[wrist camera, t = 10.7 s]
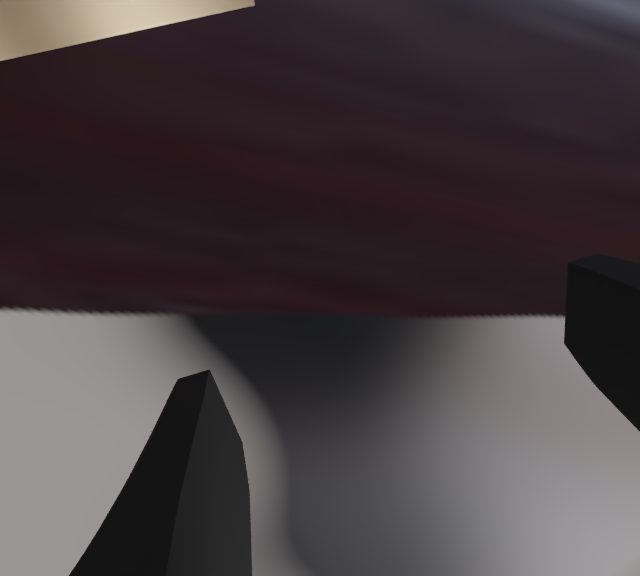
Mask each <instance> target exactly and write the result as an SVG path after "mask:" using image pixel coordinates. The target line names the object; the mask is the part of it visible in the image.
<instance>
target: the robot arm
mask: <svg viewBox="0 0 640 576" xmlns="http://www.w3.org/2000/svg"><path fill="white" fill-rule="evenodd" d="M564 344H565V345H566V346H567V348H568V349H569V350H570V352H571V354H572V355H573V356H574V358H575V359H576V361H577V362H578V363H579V365H580V366H581V367H582V369H583V370H584V371H585V373H586V374H587V375H588V377H589V378H590V379H591V380H592V382H593V383H594V384H595V385H596V387H597V388H598V389H599V390H600V391H601V392H602V393H603V394H604V395H605V396H606V397H607V398H608V399H609V400H610V401H611V402H612V403H613V404H614V405H615V406H616V407H617V409H618V410H619V411H620V412H621V413H622V414H623V415H624V416H625V417H626V418H627V419H628V420H629V421H630V422H631V423H632V424H633V425H634V426H635V427H636V428H637V429H638V430H639V431H640V264H637V263H634V262H630V261H626V260H623V259H619V258H615V257H611V256H606V255H601V254H595V255H592V256H588V257H585V258H582V259H578V260H575V261H571V262H568V277H567V297H566V317H565V338H564ZM69 576H252V560H251V523H250V494H249V485H248V478H247V470H246V464H245V457H244V451H243V444H242V441H241V438H240V436H239V434H238V432H237V429H236V427H235V425H234V423H233V421H232V418H231V416H230V414H229V412H228V409H227V407H226V405H225V403H224V400H223V398H222V396H221V394H220V392H219V390H218V387H217V385H216V383H215V380H214V378H213V376H212V374H211V372H210V370H207V371H203V372H200V373H197V374H193V375H190V376H187V377H183V378H180V379H178V380H177V382H176V384H175V386H174V388H173V390H172V392H171V394H170V396H169V398H168V400H167V402H166V404H165V406H164V408H163V411H162V413H161V415H160V417H159V419H158V421H157V423H156V425H155V427H154V429H153V431H152V433H151V435H150V437H149V439H148V441H147V443H146V445H145V447H144V449H143V451H142V453H141V455H140V457H139V459H138V461H137V462H136V464H135V466H134V468H133V470H132V472H131V474H130V476H129V478H128V480H127V481H126V483H125V485H124V487H123V489H122V490H121V492H120V494H119V495H118V497H117V499H116V501H115V502H114V504H113V506H112V508H111V509H110V511H109V513H108V514H107V516H106V518H105V520H104V521H103V523H102V525H101V527H100V528H99V530H98V532H97V533H96V535H95V537H94V538H93V540H92V541H91V543H90V544H89V546H88V547H87V549H86V551H85V552H84V554H83V555H82V557H81V558H80V560H79V562H78V563H77V564H76V566H75V568H74V569H73V570H72V572H71V573H70V575H69Z"/></svg>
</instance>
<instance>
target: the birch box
mask: <svg viewBox="0 0 640 576" xmlns="http://www.w3.org/2000/svg"><path fill="white" fill-rule="evenodd" d="M254 5H255V4H254V0H0V61H2V60H7V59H11V58H16V57H21V56H25V55H30V54H34V53H39V52H43V51H48V50H53V49H57V48H62V47H66V46H71V45H75V44H80V43H85V42H89V41H94V40H98V39H103V38H108V37H112V36H117V35H121V34H126V33H130V32H135V31H140V30H144V29H149V28H153V27H158V26H162V25H167V24H172V23H176V22H181V21H185V20H190V19H194V18H199V17H204V16H208V15H213V14H217V13H222V12H226V11H231V10H236V9H240V8H245V7H249V6H254Z"/></svg>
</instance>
